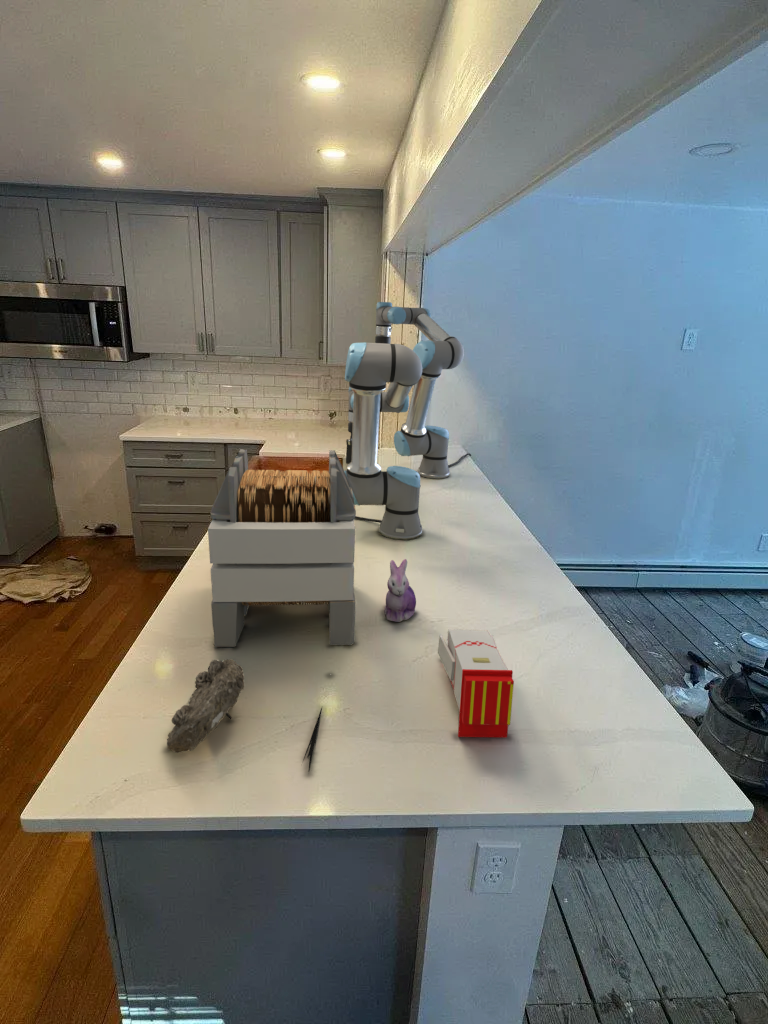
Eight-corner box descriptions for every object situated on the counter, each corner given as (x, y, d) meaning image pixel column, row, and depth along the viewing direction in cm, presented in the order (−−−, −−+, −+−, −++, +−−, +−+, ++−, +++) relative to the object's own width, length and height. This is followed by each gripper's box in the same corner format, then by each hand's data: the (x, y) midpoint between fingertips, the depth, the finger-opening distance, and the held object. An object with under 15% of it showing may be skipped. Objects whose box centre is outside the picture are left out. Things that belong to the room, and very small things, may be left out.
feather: (331, 679, 122) (336, 673, 122) (307, 777, 96) (313, 769, 95) (324, 675, 122) (329, 669, 121) (298, 772, 95) (304, 764, 95)
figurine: (392, 627, 141) (395, 572, 136) (374, 608, 149) (376, 556, 144) (425, 619, 145) (429, 566, 140) (405, 601, 154) (408, 550, 149)
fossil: (192, 660, 117) (244, 628, 112) (224, 691, 120) (276, 661, 115) (142, 746, 98) (202, 712, 93) (182, 779, 101) (242, 748, 96)
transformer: (232, 581, 160) (225, 440, 147) (348, 580, 164) (351, 442, 150) (211, 649, 129) (199, 477, 115) (355, 646, 132) (360, 479, 119)
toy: (488, 613, 130) (523, 677, 101) (484, 667, 133) (517, 744, 104) (435, 612, 130) (455, 676, 101) (432, 666, 133) (451, 743, 103)
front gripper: (354, 426, 217) (352, 484, 225) (376, 420, 233) (374, 474, 241) (337, 424, 220) (336, 481, 228) (360, 418, 236) (359, 471, 244)
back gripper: (378, 336, 263) (376, 383, 270) (400, 335, 284) (398, 378, 291) (364, 335, 266) (363, 381, 273) (387, 334, 287) (385, 377, 294)
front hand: (356, 477), depth 234 cm, fingers closed on block, 6 cm apart
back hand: (381, 380), depth 282 cm, fingers open, 13 cm apart
